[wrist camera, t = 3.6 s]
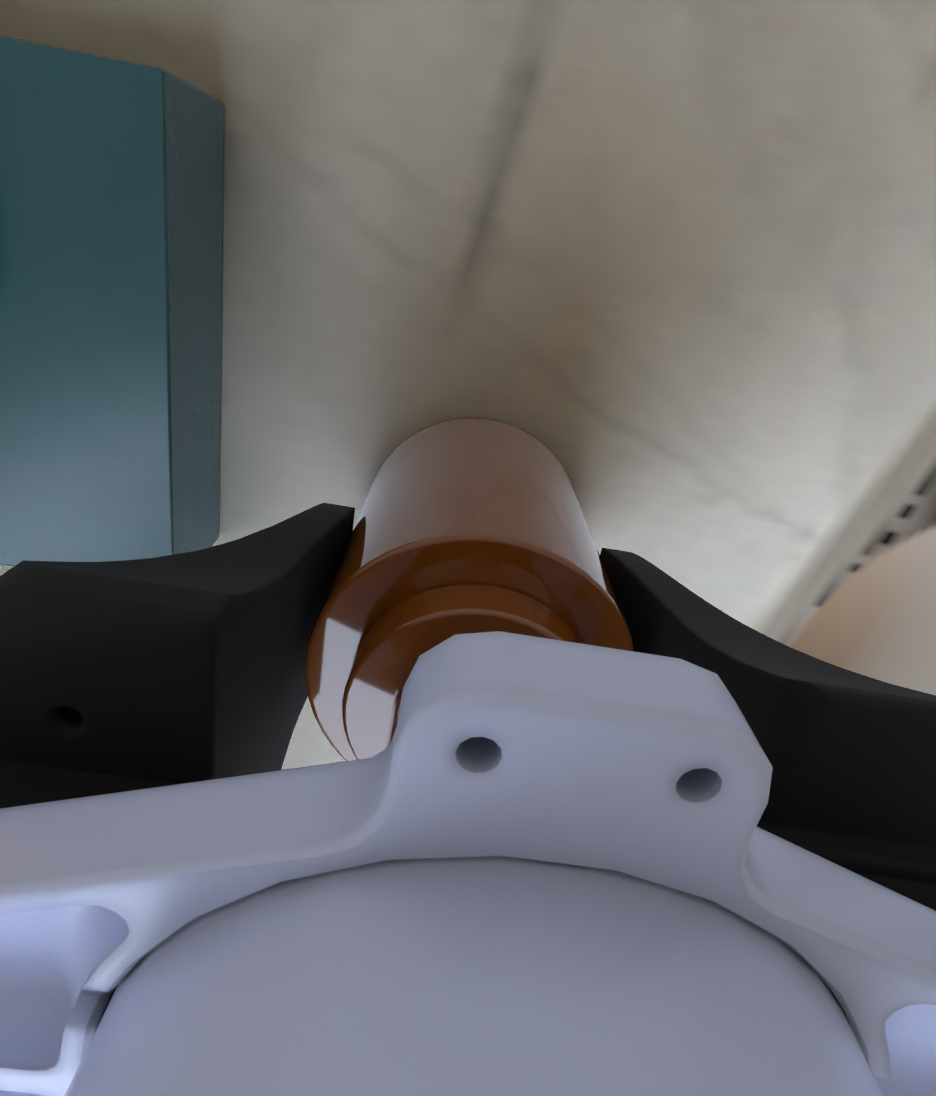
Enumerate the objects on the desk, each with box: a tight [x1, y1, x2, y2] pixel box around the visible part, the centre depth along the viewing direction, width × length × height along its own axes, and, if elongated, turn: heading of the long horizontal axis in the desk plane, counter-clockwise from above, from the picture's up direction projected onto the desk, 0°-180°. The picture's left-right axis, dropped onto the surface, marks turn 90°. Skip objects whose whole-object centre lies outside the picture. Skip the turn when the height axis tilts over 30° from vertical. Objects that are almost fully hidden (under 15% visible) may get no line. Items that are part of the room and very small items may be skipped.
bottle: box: [305, 418, 635, 761], centre depth 11 cm, size 5×5×10 cm
